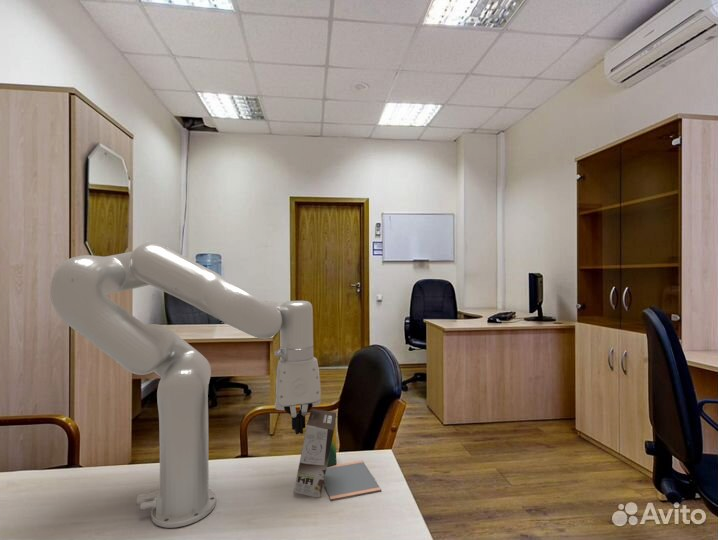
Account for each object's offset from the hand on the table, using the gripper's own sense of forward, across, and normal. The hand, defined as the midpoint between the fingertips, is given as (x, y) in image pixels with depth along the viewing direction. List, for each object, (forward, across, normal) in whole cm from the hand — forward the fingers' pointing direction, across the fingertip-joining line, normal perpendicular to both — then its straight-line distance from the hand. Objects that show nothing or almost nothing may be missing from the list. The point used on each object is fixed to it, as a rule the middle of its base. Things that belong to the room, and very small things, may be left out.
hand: (298, 431), depth 88 cm
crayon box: (+13, +8, +10) cm, 19 cm away
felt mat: (+13, +12, 0) cm, 18 cm away
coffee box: (+13, +2, 0) cm, 13 cm away
